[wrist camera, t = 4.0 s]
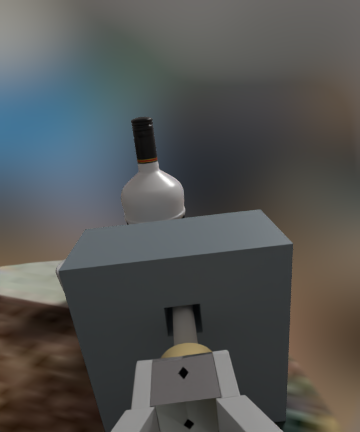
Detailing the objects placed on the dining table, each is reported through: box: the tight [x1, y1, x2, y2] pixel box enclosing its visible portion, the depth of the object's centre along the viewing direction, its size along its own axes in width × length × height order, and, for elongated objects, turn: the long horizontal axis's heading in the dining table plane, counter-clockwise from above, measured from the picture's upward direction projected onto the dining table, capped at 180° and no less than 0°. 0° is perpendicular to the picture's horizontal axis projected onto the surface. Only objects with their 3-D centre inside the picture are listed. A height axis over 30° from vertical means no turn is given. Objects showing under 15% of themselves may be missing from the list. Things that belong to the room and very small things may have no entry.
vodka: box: [121, 117, 185, 225], centre depth 40 cm, size 9×9×30 cm
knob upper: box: [161, 305, 212, 358], centre depth 23 cm, size 14×4×4 cm, turn 3°
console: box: [58, 210, 293, 432], centre depth 29 cm, size 8×18×20 cm, turn 93°
